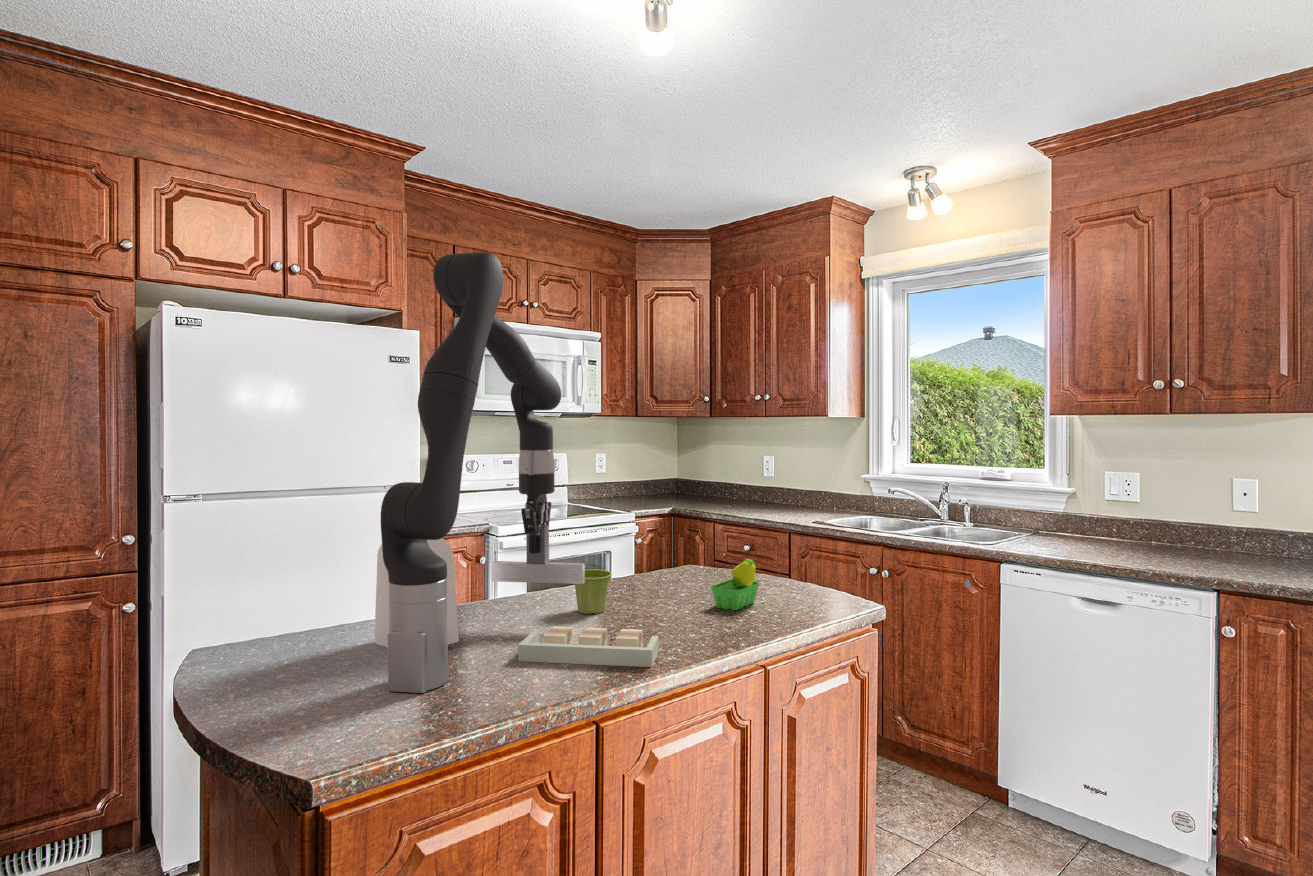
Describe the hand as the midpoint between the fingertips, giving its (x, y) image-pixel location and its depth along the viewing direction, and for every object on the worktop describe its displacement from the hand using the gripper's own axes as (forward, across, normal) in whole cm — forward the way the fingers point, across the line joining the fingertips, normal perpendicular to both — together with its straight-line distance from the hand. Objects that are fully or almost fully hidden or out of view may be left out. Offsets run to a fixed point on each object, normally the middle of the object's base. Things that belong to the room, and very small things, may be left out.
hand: (537, 551), depth 152 cm
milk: (+16, +15, -20) cm, 30 cm away
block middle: (+16, +17, +16) cm, 28 cm away
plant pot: (+16, -12, +9) cm, 22 cm away
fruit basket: (+16, -21, +42) cm, 50 cm away
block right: (+16, +17, +23) cm, 33 cm away
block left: (+16, +17, +9) cm, 25 cm away
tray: (+16, +19, +16) cm, 30 cm away
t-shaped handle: (+7, 0, 0) cm, 7 cm away
